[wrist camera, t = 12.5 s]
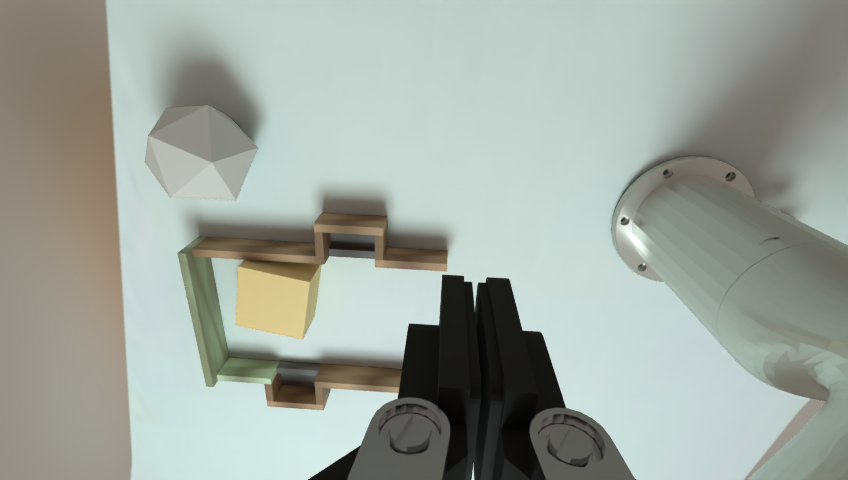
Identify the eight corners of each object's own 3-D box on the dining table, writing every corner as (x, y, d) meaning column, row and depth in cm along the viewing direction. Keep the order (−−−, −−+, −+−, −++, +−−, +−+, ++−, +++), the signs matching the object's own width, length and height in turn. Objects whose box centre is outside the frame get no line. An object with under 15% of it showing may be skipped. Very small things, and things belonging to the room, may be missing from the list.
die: (170, 97, 41) (103, 175, 36) (213, 65, 35) (141, 151, 30) (242, 156, 46) (191, 232, 41) (289, 136, 40) (237, 220, 35)
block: (322, 261, 46) (309, 282, 42) (314, 315, 49) (302, 339, 45) (257, 247, 46) (238, 266, 42) (253, 301, 49) (235, 325, 45)
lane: (449, 219, 43) (449, 235, 40) (437, 398, 53) (436, 425, 49) (193, 205, 44) (170, 220, 41) (227, 384, 54) (211, 409, 50)
